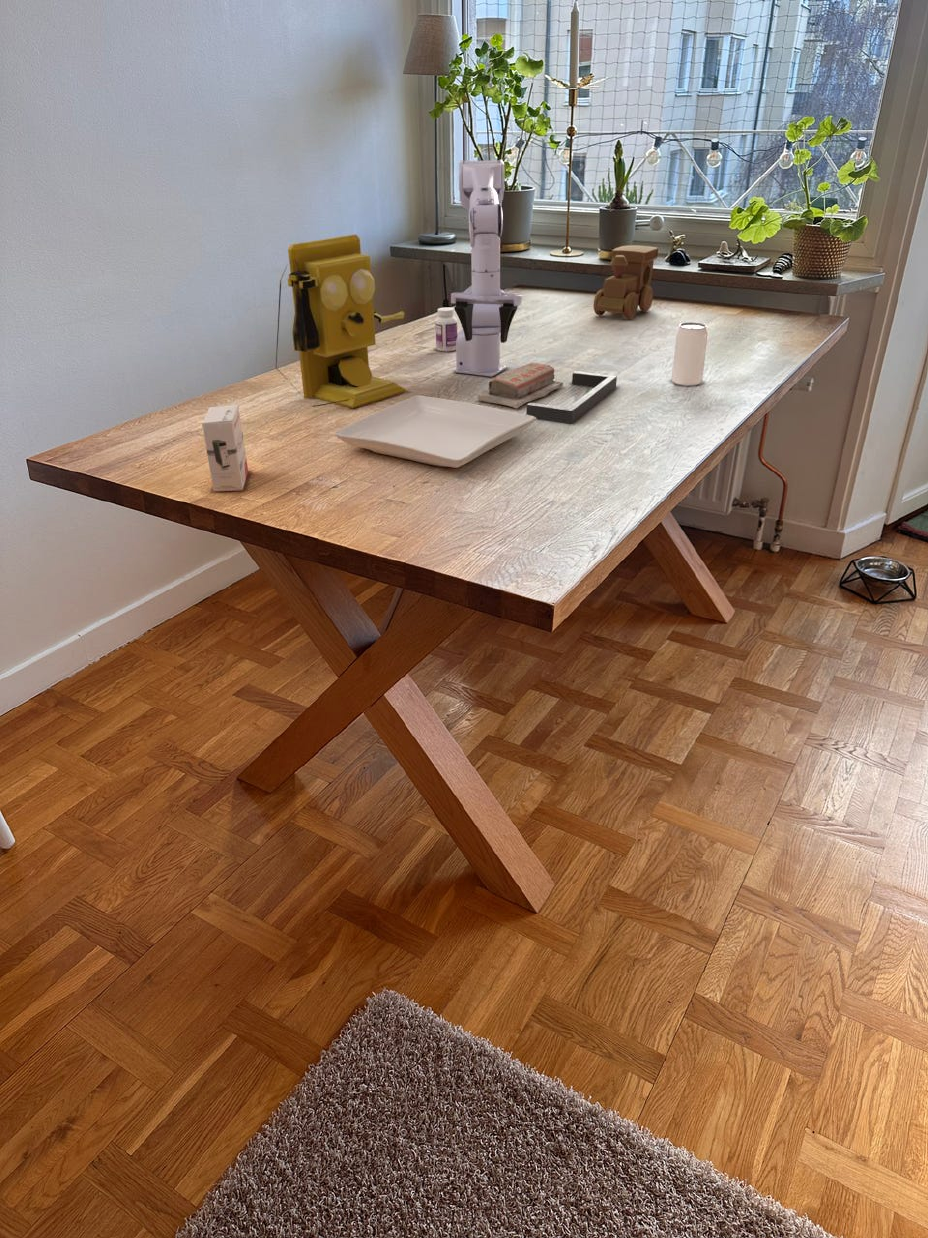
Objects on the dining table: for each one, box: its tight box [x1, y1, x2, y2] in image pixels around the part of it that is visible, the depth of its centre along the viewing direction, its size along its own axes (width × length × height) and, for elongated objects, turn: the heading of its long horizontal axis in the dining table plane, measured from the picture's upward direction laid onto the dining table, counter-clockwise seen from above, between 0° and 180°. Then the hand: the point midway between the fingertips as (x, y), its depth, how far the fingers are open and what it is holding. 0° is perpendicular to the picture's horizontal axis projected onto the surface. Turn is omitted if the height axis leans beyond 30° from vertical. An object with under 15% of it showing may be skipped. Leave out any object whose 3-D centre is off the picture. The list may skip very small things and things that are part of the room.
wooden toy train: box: [593, 244, 659, 320], centre depth 248 cm, size 20×11×17 cm, turn 147°
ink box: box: [201, 404, 249, 492], centre depth 146 cm, size 9×5×12 cm, turn 5°
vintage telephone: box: [275, 234, 407, 410], centre depth 181 cm, size 31×14×30 cm, turn 137°
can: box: [671, 321, 709, 387], centre depth 191 cm, size 6×6×12 cm
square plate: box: [332, 394, 537, 469], centre depth 162 cm, size 27×27×4 cm
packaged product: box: [476, 362, 564, 409], centre depth 186 cm, size 18×5×10 cm
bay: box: [525, 370, 618, 424], centre depth 182 cm, size 10×26×2 cm, turn 153°
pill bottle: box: [434, 306, 459, 352], centre depth 219 cm, size 5×5×10 cm
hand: (486, 340), depth 185 cm, fingers open, 7 cm apart
